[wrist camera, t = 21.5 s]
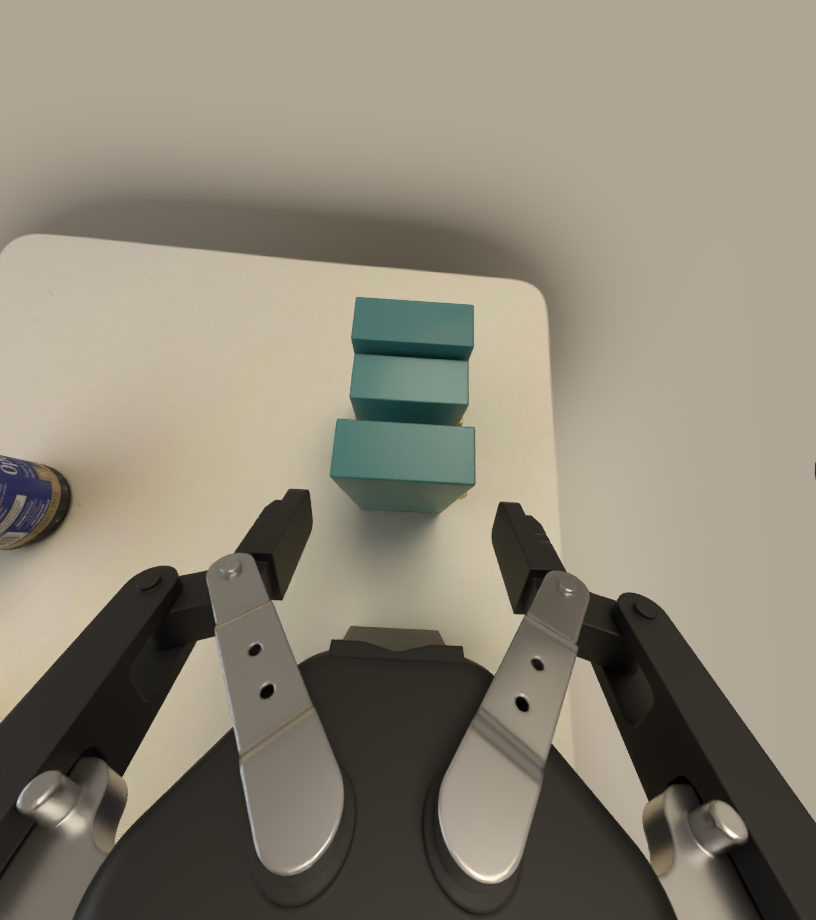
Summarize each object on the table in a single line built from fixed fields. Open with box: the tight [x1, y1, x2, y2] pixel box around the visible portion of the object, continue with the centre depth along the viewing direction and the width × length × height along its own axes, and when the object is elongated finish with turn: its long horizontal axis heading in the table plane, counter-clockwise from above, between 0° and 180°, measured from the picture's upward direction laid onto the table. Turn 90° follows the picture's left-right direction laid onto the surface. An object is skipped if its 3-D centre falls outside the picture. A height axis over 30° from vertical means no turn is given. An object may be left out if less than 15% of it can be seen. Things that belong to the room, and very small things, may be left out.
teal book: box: [330, 419, 475, 513], centre depth 18 cm, size 6×3×11 cm, turn 87°
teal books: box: [350, 297, 474, 426], centre depth 20 cm, size 6×5×10 cm
